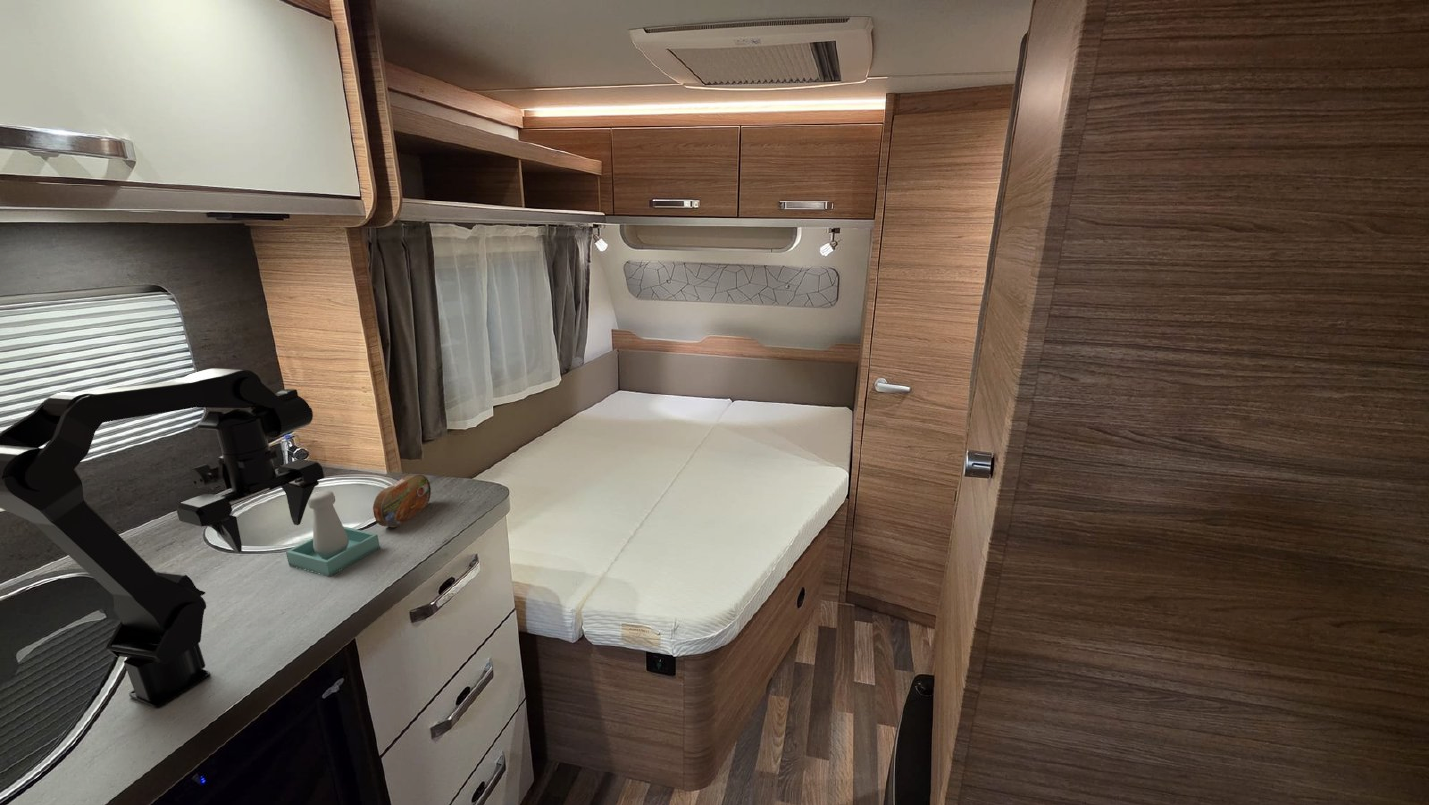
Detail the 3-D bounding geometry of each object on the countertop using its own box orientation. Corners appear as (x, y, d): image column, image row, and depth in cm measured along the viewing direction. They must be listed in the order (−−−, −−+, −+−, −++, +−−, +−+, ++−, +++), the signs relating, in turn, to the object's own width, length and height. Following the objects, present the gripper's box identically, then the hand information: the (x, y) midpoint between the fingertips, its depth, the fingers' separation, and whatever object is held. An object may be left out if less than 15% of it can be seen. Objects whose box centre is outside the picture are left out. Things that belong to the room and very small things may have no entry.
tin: (387, 534, 121) (380, 498, 119) (374, 533, 122) (367, 496, 119) (434, 502, 135) (429, 469, 133) (422, 501, 136) (416, 468, 134)
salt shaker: (333, 545, 116) (320, 485, 112) (358, 548, 115) (345, 488, 111) (308, 561, 111) (293, 499, 107) (334, 564, 109) (320, 501, 106)
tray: (329, 576, 107) (326, 562, 106) (289, 565, 110) (285, 551, 109) (380, 547, 116) (377, 534, 115) (341, 538, 120) (338, 525, 119)
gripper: (272, 423, 101) (291, 505, 106) (139, 463, 84) (170, 558, 89) (317, 431, 97) (335, 515, 102) (188, 474, 81) (217, 572, 85)
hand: (268, 537), depth 95 cm, fingers open, 9 cm apart
